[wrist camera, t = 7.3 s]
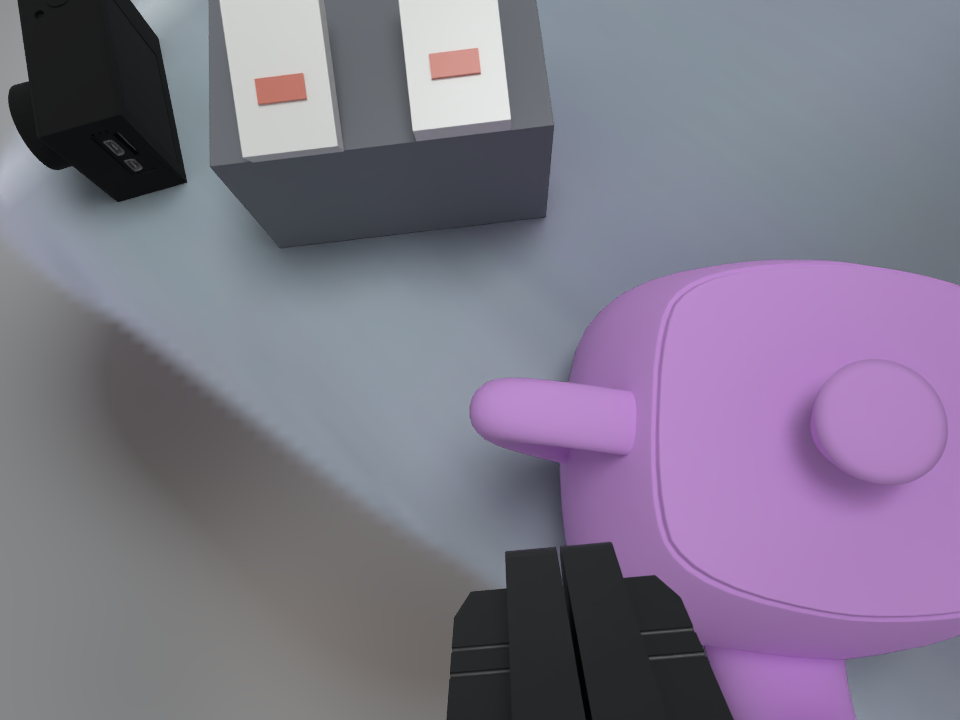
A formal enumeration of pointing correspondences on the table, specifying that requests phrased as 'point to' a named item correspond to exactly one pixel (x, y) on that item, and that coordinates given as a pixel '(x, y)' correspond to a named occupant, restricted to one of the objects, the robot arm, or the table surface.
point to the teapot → (766, 464)
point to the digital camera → (97, 96)
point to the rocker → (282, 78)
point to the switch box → (391, 140)
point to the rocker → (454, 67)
